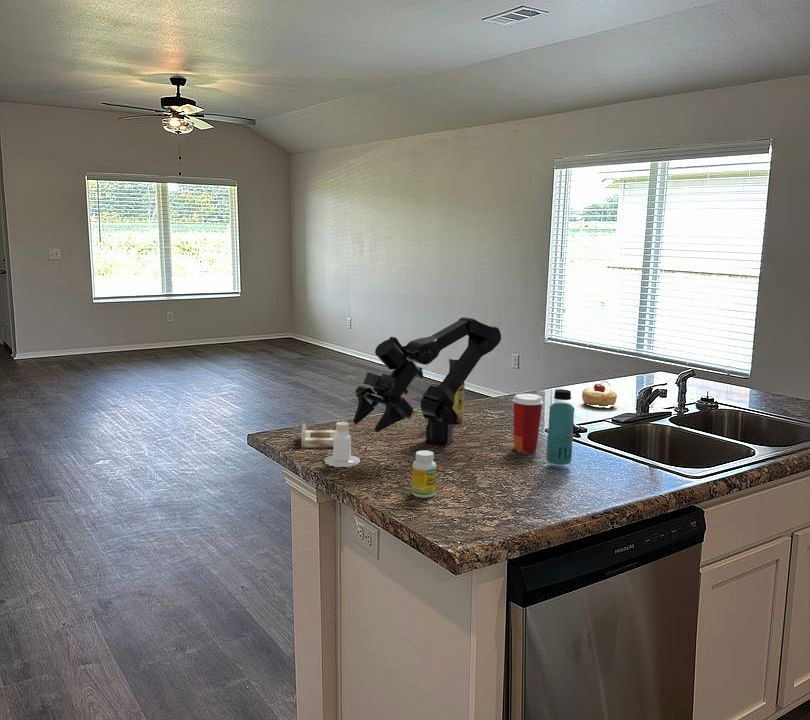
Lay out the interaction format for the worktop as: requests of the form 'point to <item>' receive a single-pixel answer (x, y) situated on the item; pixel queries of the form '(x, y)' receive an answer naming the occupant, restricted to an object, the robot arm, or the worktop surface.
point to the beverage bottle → (560, 429)
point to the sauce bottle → (458, 395)
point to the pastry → (599, 396)
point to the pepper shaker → (342, 443)
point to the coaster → (352, 462)
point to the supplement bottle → (424, 474)
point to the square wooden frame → (317, 437)
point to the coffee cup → (526, 421)
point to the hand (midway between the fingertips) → (364, 427)
